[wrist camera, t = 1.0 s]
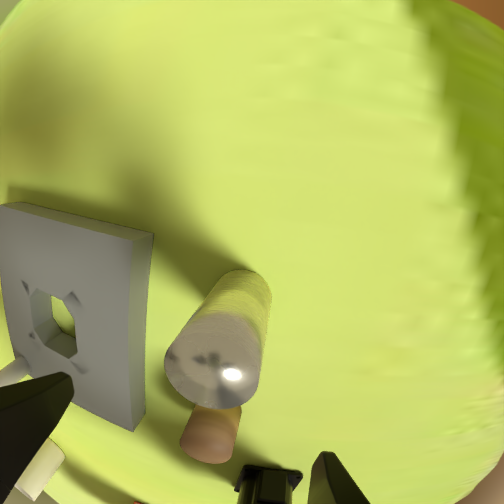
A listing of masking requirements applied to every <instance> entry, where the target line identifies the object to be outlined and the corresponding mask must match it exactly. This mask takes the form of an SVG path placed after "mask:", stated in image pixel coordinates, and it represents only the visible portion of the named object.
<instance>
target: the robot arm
mask: <svg viewBox="0 0 504 504" xmlns="http://www.w3.org/2000/svg"><path fill="white" fill-rule="evenodd" d="M74 393H75V391H74V386H73V381H72V377H71V376H70V375H69V374H67V373H65V372H63V371H60V372H57V373H53V374H49V375H46V376H42V377H38V378H34V379H31V380H27V381H23V382H19V383H15V384H11V385H7V386H2V387H0V504H3V503H4V501H5V500H6V498H7V496H8V495H9V493H10V491H11V490H12V489H13V487H14V485H15V484H16V482H17V481H18V479H19V478H20V477H21V475H22V474H23V472H24V471H25V469H26V468H27V466H28V465H29V463H30V462H31V461H32V459H33V458H34V456H35V455H36V453H37V452H38V451H39V449H40V448H41V446H42V445H43V444H44V442H45V441H46V439H47V438H48V437H49V435H50V434H51V433H52V431H53V430H54V429H55V427H56V426H57V424H58V423H59V421H60V419H61V417H62V416H63V414H64V412H65V410H66V409H67V407H68V405H69V404H70V402H71V400H72V398H73V397H74ZM302 478H303V474H302V473H298V472H289V471H281V470H274V469H268V468H261V467H256V466H250V465H244V466H243V468H242V471H241V473H240V476H239V478H238V481H237V483H236V485H235V488H234V491H235V492H239V497H238V502H237V504H292V492H293V491H294V489H295V488H296V487H297V485H298V484H299V482H300V481H301V480H302ZM307 504H370V502H369V501H368V500H367V498H366V497H365V496H364V494H363V493H362V491H361V490H360V489H359V487H358V486H357V484H356V483H355V482H354V480H353V479H352V477H351V476H350V475H349V473H348V472H347V470H346V469H345V467H344V466H343V465H342V463H341V462H340V460H339V459H338V457H337V456H336V454H335V453H334V452H328V451H322V452H321V453H320V454H319V456H318V457H317V459H316V460H315V462H314V464H313V466H312V470H311V479H310V487H309V495H308V503H307Z"/></svg>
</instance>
